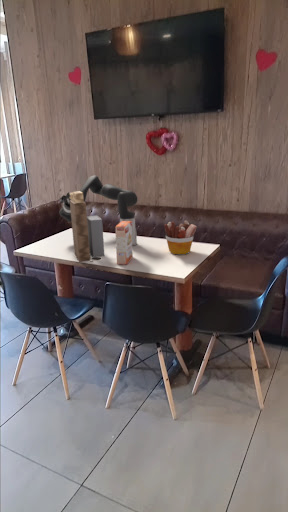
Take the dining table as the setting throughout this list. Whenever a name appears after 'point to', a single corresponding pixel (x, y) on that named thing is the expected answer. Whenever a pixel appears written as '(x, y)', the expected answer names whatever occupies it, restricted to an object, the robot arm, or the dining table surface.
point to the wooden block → (80, 231)
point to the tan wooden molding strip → (77, 197)
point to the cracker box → (124, 242)
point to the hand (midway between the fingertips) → (73, 193)
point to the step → (95, 236)
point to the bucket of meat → (179, 237)
